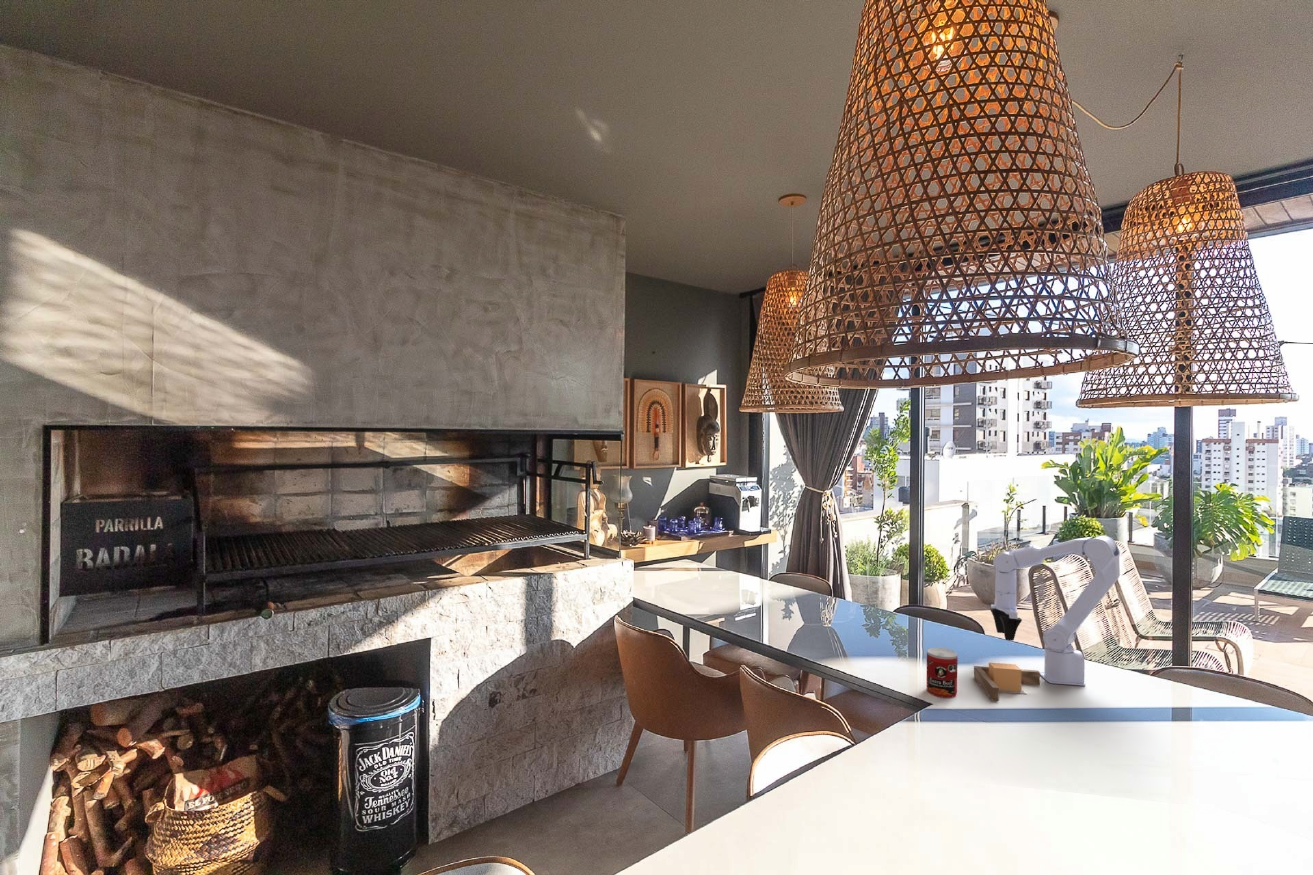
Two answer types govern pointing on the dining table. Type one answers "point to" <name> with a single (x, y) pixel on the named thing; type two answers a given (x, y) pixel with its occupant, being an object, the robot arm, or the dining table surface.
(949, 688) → the canned food
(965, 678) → the dining table surface
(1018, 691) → the pad
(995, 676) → the block
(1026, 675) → the arena
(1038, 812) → the dining table surface
